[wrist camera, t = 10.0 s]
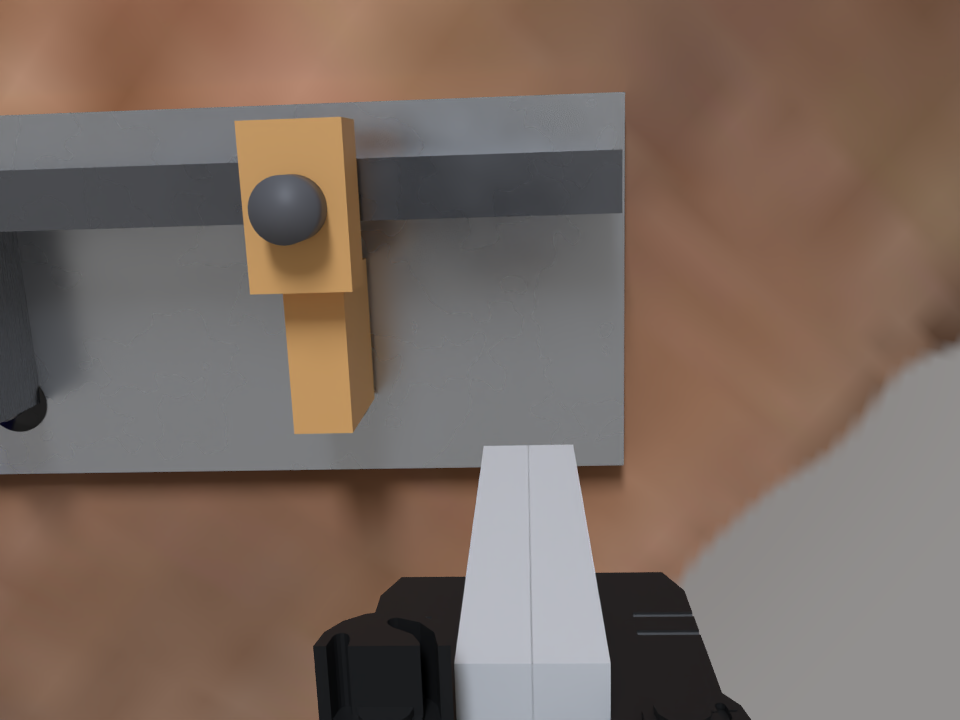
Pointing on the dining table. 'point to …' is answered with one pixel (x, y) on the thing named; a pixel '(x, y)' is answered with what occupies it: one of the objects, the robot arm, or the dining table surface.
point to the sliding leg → (311, 260)
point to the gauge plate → (260, 317)
